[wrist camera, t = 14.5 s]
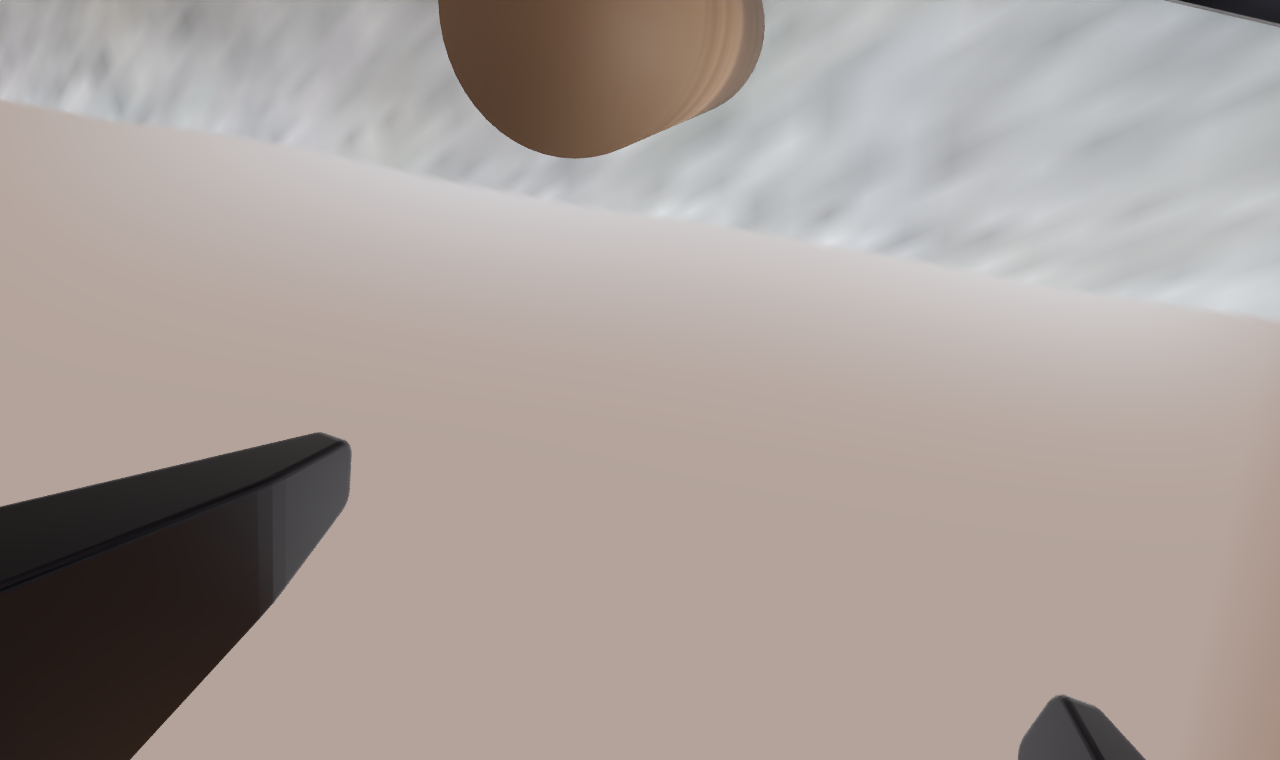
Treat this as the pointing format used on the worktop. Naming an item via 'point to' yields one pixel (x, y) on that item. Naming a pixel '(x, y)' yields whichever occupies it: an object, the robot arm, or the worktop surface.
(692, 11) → the walnut cylinder
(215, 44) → the worktop surface
